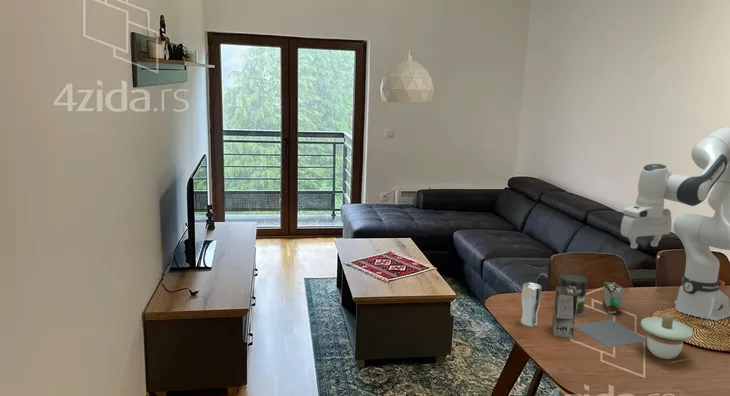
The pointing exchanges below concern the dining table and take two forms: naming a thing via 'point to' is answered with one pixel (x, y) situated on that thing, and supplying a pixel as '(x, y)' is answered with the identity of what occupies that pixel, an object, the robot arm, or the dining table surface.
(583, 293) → the coffee can
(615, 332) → the mat
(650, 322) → the lid
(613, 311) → the food container
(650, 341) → the lidded jar
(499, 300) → the dining table surface
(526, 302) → the beer glass
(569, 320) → the coffee box
